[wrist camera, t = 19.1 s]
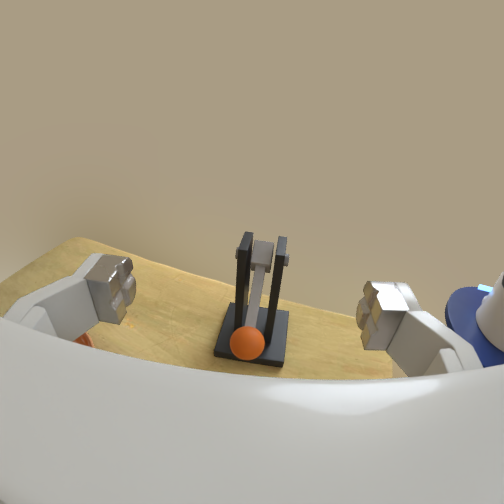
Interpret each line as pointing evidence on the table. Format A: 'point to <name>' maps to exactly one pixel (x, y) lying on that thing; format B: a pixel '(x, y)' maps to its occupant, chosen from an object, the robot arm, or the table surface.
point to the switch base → (269, 318)
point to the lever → (253, 306)
